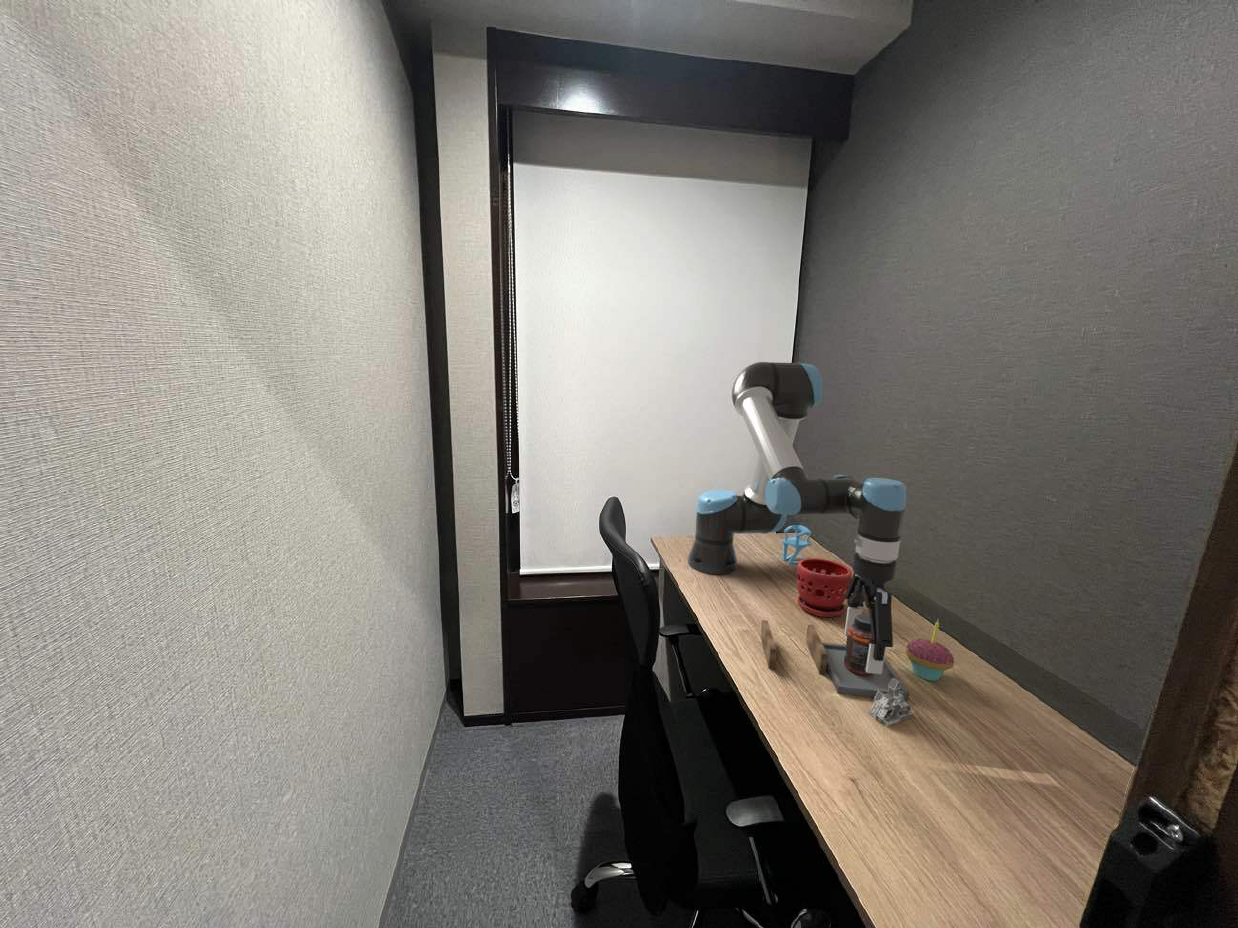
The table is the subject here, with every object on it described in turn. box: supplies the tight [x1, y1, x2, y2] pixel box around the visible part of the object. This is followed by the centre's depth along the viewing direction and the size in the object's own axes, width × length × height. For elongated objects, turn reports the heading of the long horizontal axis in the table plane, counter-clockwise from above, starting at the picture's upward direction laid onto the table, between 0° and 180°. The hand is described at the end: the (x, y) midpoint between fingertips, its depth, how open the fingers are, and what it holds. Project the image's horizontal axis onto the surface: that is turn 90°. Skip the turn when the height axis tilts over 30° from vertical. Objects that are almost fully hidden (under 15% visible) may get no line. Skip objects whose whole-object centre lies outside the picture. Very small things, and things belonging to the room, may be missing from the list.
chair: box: [781, 524, 812, 565], centre depth 162 cm, size 8×8×12 cm
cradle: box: [760, 620, 828, 675], centre depth 109 cm, size 12×11×4 cm
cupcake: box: [905, 618, 955, 682], centre depth 103 cm, size 9×8×12 cm
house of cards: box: [868, 678, 915, 728], centre depth 93 cm, size 9×9×8 cm
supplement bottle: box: [844, 613, 873, 675], centre depth 103 cm, size 6×6×11 cm
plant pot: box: [796, 557, 853, 618], centre depth 130 cm, size 13×13×12 cm
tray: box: [821, 641, 910, 702], centre depth 104 cm, size 16×13×2 cm
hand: (861, 652), depth 103 cm, fingers open, 13 cm apart
